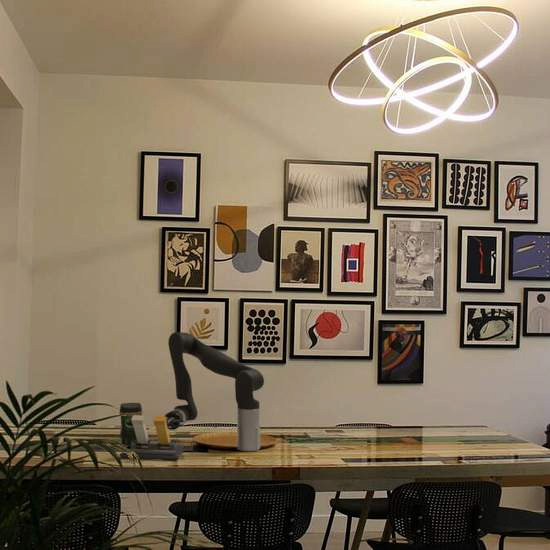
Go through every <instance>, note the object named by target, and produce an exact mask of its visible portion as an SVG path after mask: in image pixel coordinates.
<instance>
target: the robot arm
mask: <svg viewBox="0 0 550 550" xmlns="http://www.w3.org/2000/svg"><path fill="white" fill-rule="evenodd" d="M168 349H169V354H170V355H169V356H170V358H171V363H172V367H173V373H174V379H175V392H176V393H175V395H176V399H177V400H181V401H185V402H186V403H187V404H181V405H176V406H175V407H174V408H173V410H171V411H169V412H167V413H166V414H165V415H164V416H166V420H167V421H166V423H167V428H168V430H170V431H171V430H172V431H174V430H177V429H179V428H181V427H184V425H185V424H186V422H188V421H190V422H191V421H194V420H196V419H197V417H198V408H197V406H196V403H195V400H194V397H193V389H192V379H191V375H190V374H189V372H188V369H187V367H186V364H185V361H184V354H187V355H190V356H192V357H194V358H196V359H197V360H199V362H200V363H201V365H202V366H203V367H205V369H207V370H209V371H211V372H213V373H214V374H217V375H220V376H224V377H228V378H231V379H234V380H235V381H234V390H235V391H234V392H235V402H236V404H237V419H236V421H237V423H236V424H237V426H236V428H237V429H236V436H237V438H236V439H237V442H236V447H238V448H236V449H237V450H238V451H243V452H253V451H254V452H256V451H257V452H258V451H259V450H260V449H261V425H260V401H259V400H257V399H256V398H254V392H256V391H259V390H260V389H262V387H263V386H264V384H265V379H264V376H263V374H262V373H261V371H259V370H258V369H256V368H253V367H250V366H247V365H246V364H243V363H242V362H239V361H237V360H236V359H234V358H232V357H230V356H228V355H227V354H225V353H224V352H222V351H220V350H218V349H216V348H215V347H211V346H210V345H208V344H206V343H204V342H202V341H201V340H199V339H197V337H195V336H194V335H192V334H191V333H189V332H183V331H182V332H179V331H177V332H176V331H175V332H172V333H171V334H170V335H169V338H168Z"/></svg>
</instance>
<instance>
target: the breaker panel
mask: <svg viewBox="0 0 550 550" xmlns="http://www.w3.org/2000/svg"><path fill="white" fill-rule="evenodd" d="M184 447H185V446H184V444H179V442H178V441H171V443H170V444H169V447H159V440H150V442H149V443H148V446H138V442H137V440H135V441H133V442H131V447H130V448H129V449H144V450H169V451H176V454H175V455H178V456H179V457H180V456H181V455H182V454H183V453H184V449H185V448H184Z"/></svg>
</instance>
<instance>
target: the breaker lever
mask: <svg viewBox="0 0 550 550" xmlns="http://www.w3.org/2000/svg"><path fill="white" fill-rule="evenodd" d="M166 421H167V420H166V416H165V415H164V416H163V415H154V417H153V420H152V422H153V425H154V427H155V431H156V434H157V435H156V436H157V439H158V440H157V441H159V447H169V444H170V443H172V441H171V437H170V433H169V429H168V428H167V423H166Z"/></svg>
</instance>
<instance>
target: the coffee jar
mask: <svg viewBox="0 0 550 550" xmlns="http://www.w3.org/2000/svg"><path fill="white" fill-rule="evenodd" d="M119 407H120V408H119V412H118V413H119V416H120V415H126V416H121V417H120V432H119V433H120V434H119V444H120V443H122V444H124V445H126V446H128V447H131V442H133V441H135V440H137V438H136V434H135V430H134V426H133V424H132V421H131V419H132V417H133V415H140V416H143V408H142V404H141V403H140V402H126V403H125V402H123V403H121V404H120V406H119Z"/></svg>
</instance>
